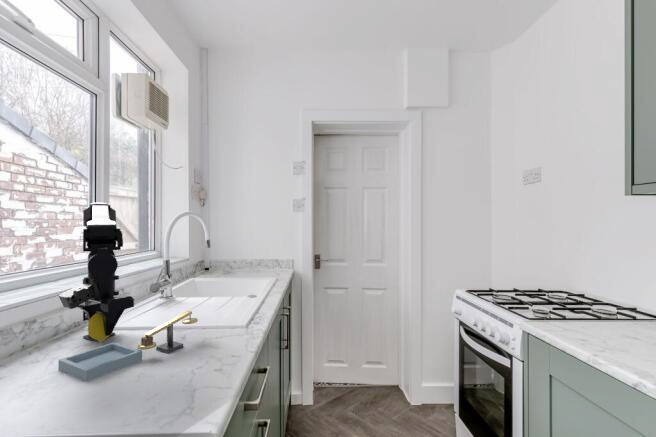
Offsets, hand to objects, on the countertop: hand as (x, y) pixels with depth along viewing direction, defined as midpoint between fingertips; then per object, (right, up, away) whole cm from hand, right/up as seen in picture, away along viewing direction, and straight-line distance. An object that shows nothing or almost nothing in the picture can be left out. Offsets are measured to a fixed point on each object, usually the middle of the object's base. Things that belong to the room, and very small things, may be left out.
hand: (101, 333), depth 83 cm
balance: (+12, -8, +10) cm, 18 cm away
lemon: (0, -2, 0) cm, 2 cm away
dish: (0, -8, 0) cm, 8 cm away
